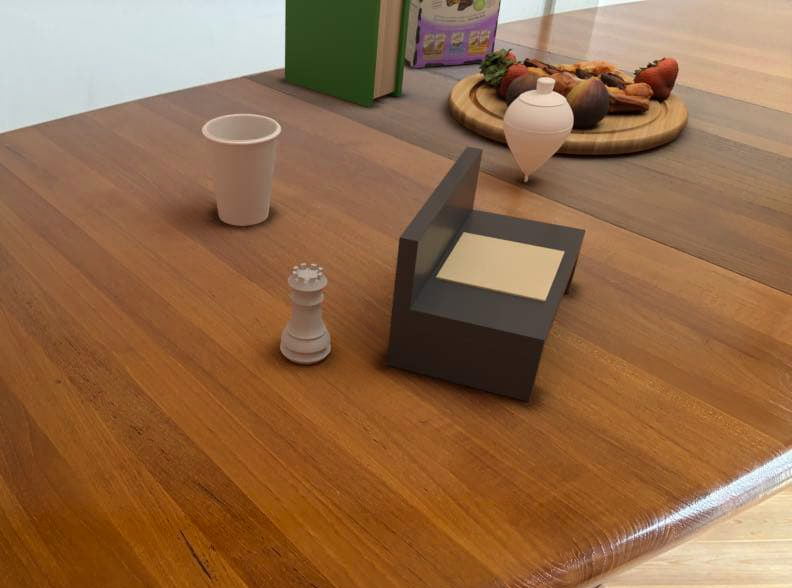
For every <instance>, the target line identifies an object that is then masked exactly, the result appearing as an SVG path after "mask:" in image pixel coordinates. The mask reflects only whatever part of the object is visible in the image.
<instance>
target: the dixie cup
mask: <svg viewBox="0 0 792 588" xmlns="http://www.w3.org/2000/svg"><path fill="white" fill-rule="evenodd" d="M281 132H282V127H281V125H280V124H279V123H278V122H277V121H276V120H275V119H273V118H271V117H268V116H265V115H261V114H254V113H233V114H226V115H221V116H217V117H214V118H212V119H210V120H208V121H207V122H206V123H204V125H203V126H202V128H201V134H202V135H203V137H204V140H205V146H206V150H207V157H208V162H209V168H210V172H211V180H212V185H213V190H214V197H215V202H216V209H217V213H218V218H219V220H220V221H222V222H223V223H224V224H225V223H226V224H228V225H231V226H237V227H239V226H240V227H247V226H248V227H249V226H254V225H258V224H260V223H263V222H264V221H266V219H268V217H269V212H270V205H271V197H272V189H273V180H274V174H275V173H274V172H275V165H276V158H277V157H276V156H277V149H278V140H279V136H280V134H281Z"/></svg>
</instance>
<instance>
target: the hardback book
mask: <svg viewBox="0 0 792 588" xmlns="http://www.w3.org/2000/svg"><path fill="white" fill-rule="evenodd" d="M284 3H285V4H284V5H285V9H284V27H285V28H284V30H285V31H284V81H285V82H288V83H291V84H294V85H297V86H301V87H302V88H306V89H309V90H313V91H316V92H319V93H322V94H326V95H328V96H332V97H335V98H338V99H340V100H341V99H342V100H345V101H348V102H351V103H354V104H357V105H360V106H364V107H367V108H370V107H373V106H374V99H377V98H380V97H382V96H386V95H390V96H393V97H400V96H402V93H403V83H404V71H405V63H406V61H405V52H406V41H407V31H408V20H409V10H410V0H284Z"/></svg>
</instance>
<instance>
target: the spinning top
mask: <svg viewBox="0 0 792 588" xmlns="http://www.w3.org/2000/svg"><path fill="white" fill-rule="evenodd" d="M554 84H555V80H554V79H552V78H548V77H542V78H539V79H538V80H537V89H536V90H531V91H528V92H525V93H522V94H521V95H520V96H519V97H518V98H517V99H516V100H514V101H513V102H512V103H511V105H510V106H509V107H508V109H507V111H506V113H505V116H504V122H503V128H504V133H505V137H506V140H507V143H508V144H507V147H508V148H509V150H510V152H511V155H512V157H513V158H514V160H515V162H516V164H517V165H518V167H519V169H520V170H521V172H522V173H523V174H524V175H525V176H524V183H528V181H529V177H530V176H529V175H532V174H534V173H535V172H536V171H537V170H539V169H540V168H541V167H542V166H543V165H544V164H545V163H547V162H548V161H549V159H551V157H553V155H555V154H556V153H555V152H557V150H558V149H559V148H560V147H561V146H562V144H563V143H564V142H565V140H566V139H567V138H568V136H569V134H570V132H571V130H572V127H573V112H572V110H571V107H570V105H569V104H568V102H567V101H566V98H565V97H564V96H562V95H560V94H559V93H556V92H554V91H553V88H554Z"/></svg>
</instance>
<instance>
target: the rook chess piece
mask: <svg viewBox="0 0 792 588" xmlns="http://www.w3.org/2000/svg"><path fill="white" fill-rule="evenodd" d="M287 283H288V285H289V287H290V288H291V289H292V292H291V293H290V296H289V299H290V301H291V303H292V304H291V306H292V307H291V312H290V317H289V321H288V322H287V323H286V326H285V328H284V329H283V330H282V332H281V336H280V345H279V350H280V352H281V353H282V355H283V356H284V357H285V358H286V359H287V360H288V361H290V362H293V363H295V364H299V365H312V364H317V363H319V362H321V361H323V360H325V358H326V357H327V356H328V355H329V354H330V352H332V351H331V350H332V349H331V348H332V345H331V334H330V332H329V330H328V329H327V326H326V324H325V323H324V320H323V312H322V302H323V301H324V299H325V295H324V293H323V292H322V291H323V289H324V288H325V287H326V286H327V285H328V279H327V277H326V276H325V275H324V269H323V267H322V266H319V267H318V264H317V263H311V264H310V267H307V263H306V262H304V263H299V266H297V265H295V266H294V267H292V273H291V275H289V276H288V278H287Z"/></svg>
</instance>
